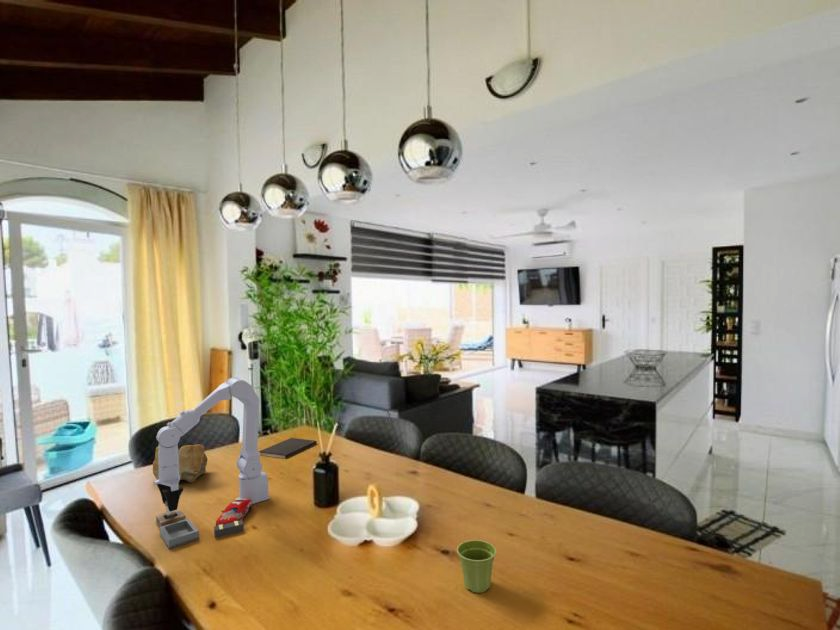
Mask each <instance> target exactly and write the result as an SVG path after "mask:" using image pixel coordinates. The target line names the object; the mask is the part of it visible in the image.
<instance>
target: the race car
mask: <svg viewBox="0 0 840 630" xmlns="http://www.w3.org/2000/svg"><path fill="white" fill-rule="evenodd" d="M252 509H253V504H252V501H251V499H238V500H235V499H234V500H232V501H231V502H230V503H229V504H228V505H227V506H226V507H225V509H224V510H221V512H222V513H221V514H220V516H219V517H218V518H217V519H216V520H215V526H219V525H221V524H222V525H223V524H227V523H232V522H234V521H240V520H242V521H243V519H245V518H246V517H247V515H248V514H250V513H251V512H252Z"/></svg>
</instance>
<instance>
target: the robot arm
mask: <svg viewBox="0 0 840 630" xmlns="http://www.w3.org/2000/svg"><path fill="white" fill-rule="evenodd" d="M232 397H233V398H235V399H237V400H239V402H241V403H242V404H243V417H242V442H241V450H240V451H239V457H238V460H237V461H236V467H237V469H238V470H239V474H238V488H239V490H238V492H239V495H238V497H237V498H235V499H234V500H238V499H251V501H252V505H254V504H257V503H260V502H264V501H267V500H270V499H271V498H270V494H269V493H270V492H269V477H268V475H267V472H266V471H263V464H262V462H261V455H260V452H259V449H258V442H259V441H258V440H259V417H260V415H259V414H260V413H259V412H260V411H259V410H260V398H259V396H258V394H257V393H256V392H255V390H254V388H253V386H252V384H250V383H249V382H247V381H245V380H243V379H240V378H239V377H230V378H228V379H227V380H226V381H225V382H223V383H221V384H219V385H218V387H217V388H215V390H213V391H212V392H211V393H210V394H209V395H207V397H205V398H203V400H202V401H200V402H199V403H198V404H197V405H196V406H195V407H194V408H191V409H190V408H188V409H186V410H185V411H184V410H181V411H180V412H179V415H178V416H177V417H175V418H174V419H173V420H172V421H171V422H170V421H169V422H168V423H166V426H163V427H161V428H160V429H159V430H158V432H157V434H156V436H155V438H156V441H158V449H159V451H158V465H159V480H157V479H156V480H154V484H155V485H156V486H157V488H158V489H159V492H160V497H161V500H162V504H164V505H165V501H166V500H167V504H168V509H169V511H174V510H177V509H178V507H179V501H180V498H181V495H182V493H183V492H184V487H183V486H179V483H180V481H181V480H180V476H179V445H178V443H179V442H180V440H181V437H183V436H184V435H186V434H187V433H188V432H189V431H190V430H191V429H193V428H194V426H197V425H198V424H199V422H200V420H201V416H202V415H204V414H205V413H207V412H208V411H209V410H211V409H212V408H214V407H215V406H216V405H217V404H218V403H220V402H221V401H226V400H227V401H228V400H232Z"/></svg>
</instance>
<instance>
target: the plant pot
mask: <svg viewBox="0 0 840 630" xmlns="http://www.w3.org/2000/svg"><path fill="white" fill-rule="evenodd" d="M456 553H457V555H458V558H459V560H460V565H461V570H462V575H463V582H464V586H465V588H466V589H467V590H470V592H472V593H477V594H478V593H479V594H480V593H485V592H487V590H488V589H490V588H491V580H492V572H493V563H494V560H495V557H496V555H497V549H496V547H495V546H494V545H493V544H492V543H490V542H488V541H485V540H480V539H471V540H465V541H463V542H461V543H459V545H457V547H456Z"/></svg>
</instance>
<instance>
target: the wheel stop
mask: <svg viewBox="0 0 840 630" xmlns="http://www.w3.org/2000/svg"><path fill="white" fill-rule="evenodd" d="M213 532H214V538H215V539H217V538H222V537H224V536H225V537H226V536H229V535H230V536H231V535H233V534H237V533H241V532H244V521H243V520H240V521H234V522H232V523H227V524H223V525H222V524H221V525H219V526H216V525H215V526H213Z"/></svg>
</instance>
